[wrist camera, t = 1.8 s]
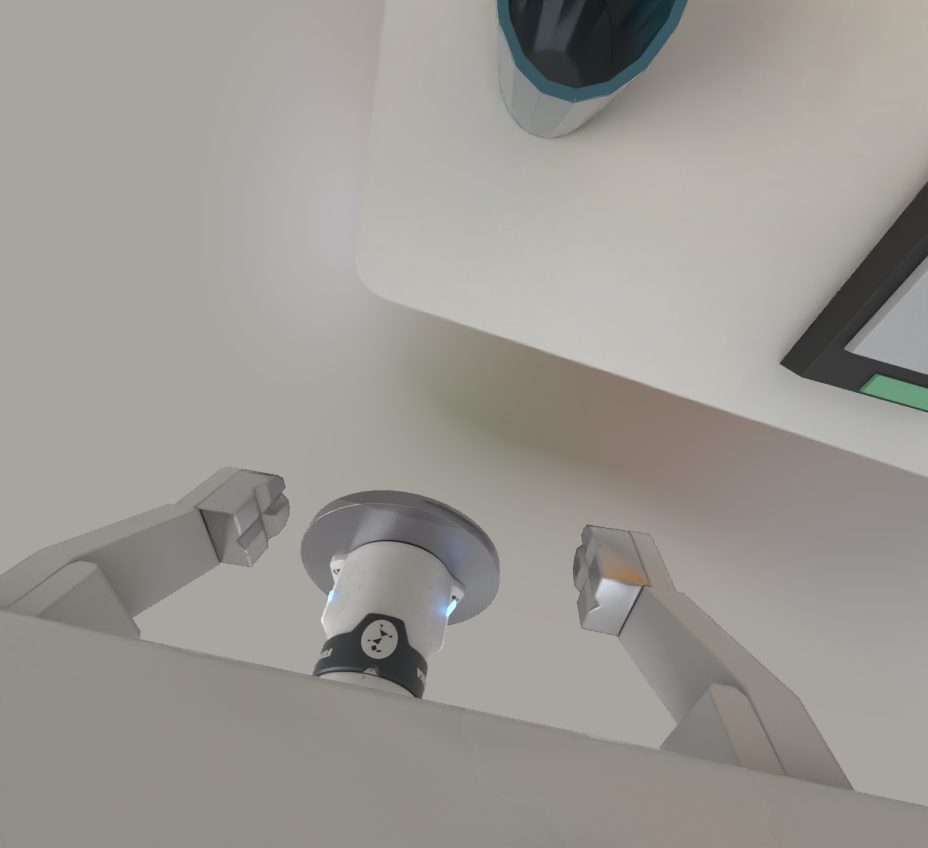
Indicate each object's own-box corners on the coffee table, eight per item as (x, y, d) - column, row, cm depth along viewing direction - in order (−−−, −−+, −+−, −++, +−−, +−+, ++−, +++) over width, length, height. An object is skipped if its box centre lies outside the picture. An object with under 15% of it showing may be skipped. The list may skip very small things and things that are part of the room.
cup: (586, 151, 21) (638, 123, 13) (486, 121, 21) (474, 72, 13) (640, -2, 18) (757, -174, 10) (520, -42, 18) (535, -254, 9)
